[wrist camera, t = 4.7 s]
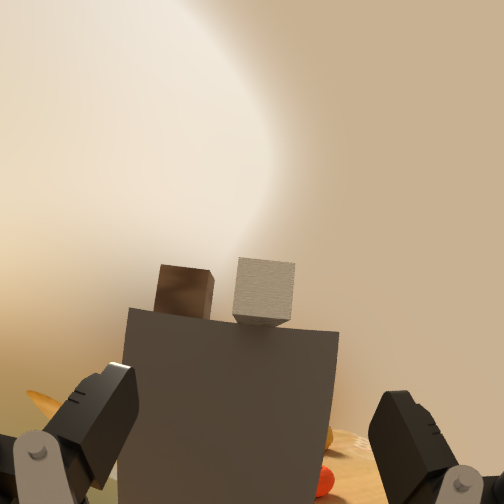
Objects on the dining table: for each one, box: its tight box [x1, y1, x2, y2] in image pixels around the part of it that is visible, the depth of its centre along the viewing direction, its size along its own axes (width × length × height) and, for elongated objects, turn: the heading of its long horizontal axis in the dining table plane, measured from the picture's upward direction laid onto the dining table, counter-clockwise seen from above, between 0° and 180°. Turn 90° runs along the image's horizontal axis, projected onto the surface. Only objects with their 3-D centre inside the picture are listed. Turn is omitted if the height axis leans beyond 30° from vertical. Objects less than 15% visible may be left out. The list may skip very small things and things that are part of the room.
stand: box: [117, 308, 339, 504], centre depth 25 cm, size 18×11×32 cm, turn 91°
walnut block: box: [153, 265, 215, 320], centre depth 32 cm, size 5×5×5 cm
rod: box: [232, 257, 295, 327], centre depth 29 cm, size 3×28×3 cm, turn 1°
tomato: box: [315, 466, 335, 497], centre depth 45 cm, size 8×7×7 cm
